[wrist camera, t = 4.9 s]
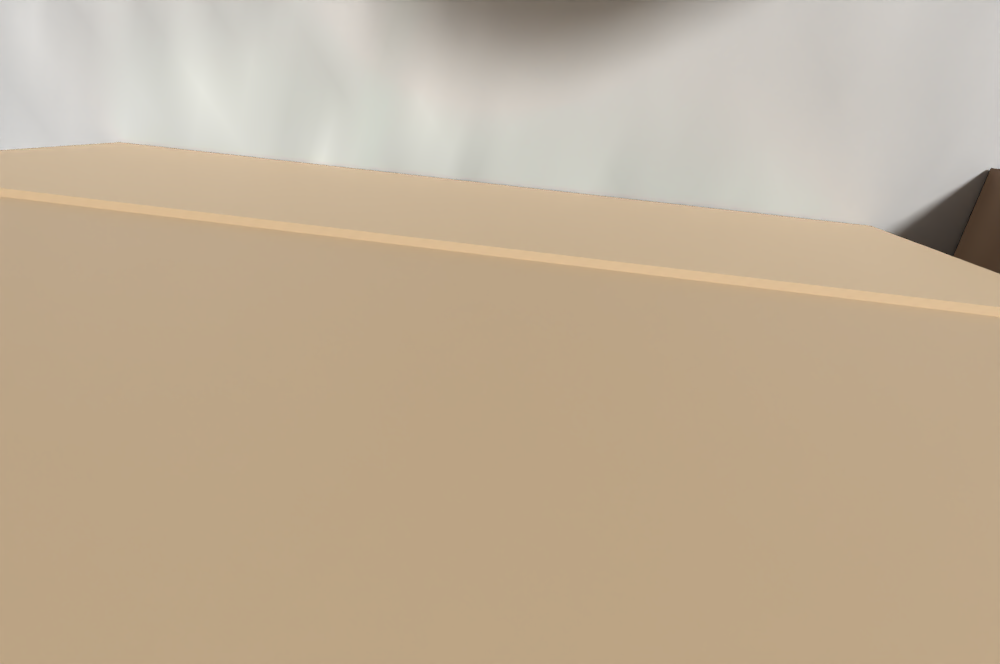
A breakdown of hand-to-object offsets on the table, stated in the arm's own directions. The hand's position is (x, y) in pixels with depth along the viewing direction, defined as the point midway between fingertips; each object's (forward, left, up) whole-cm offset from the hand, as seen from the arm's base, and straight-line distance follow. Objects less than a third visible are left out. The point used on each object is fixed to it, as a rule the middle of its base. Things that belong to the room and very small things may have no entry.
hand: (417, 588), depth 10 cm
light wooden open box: (+3, 0, -4) cm, 5 cm away
